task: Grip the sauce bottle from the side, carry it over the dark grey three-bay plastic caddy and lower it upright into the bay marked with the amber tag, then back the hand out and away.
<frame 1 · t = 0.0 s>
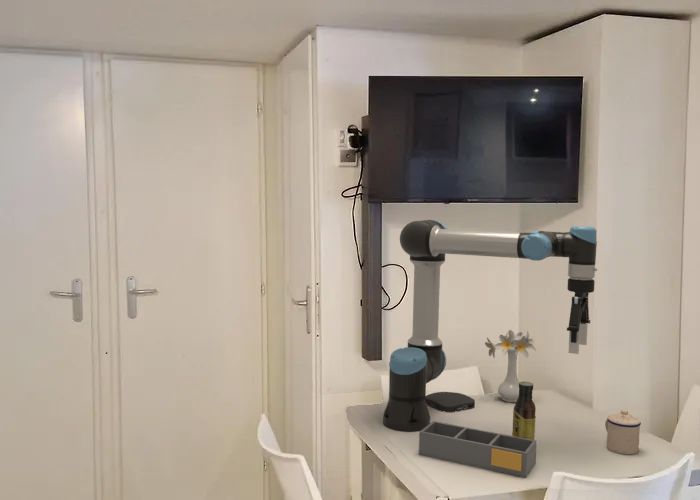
hand: (577, 348, 200), 28 cm above the table, tool pointing down, fingers open, 13 cm apart
sauce bottle: (522, 450, 194), on the table
flower vase: (509, 401, 241), on the table
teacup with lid: (618, 448, 197), on the table
caddy: (476, 458, 186), on the table
media streaming box: (449, 406, 235), on the table
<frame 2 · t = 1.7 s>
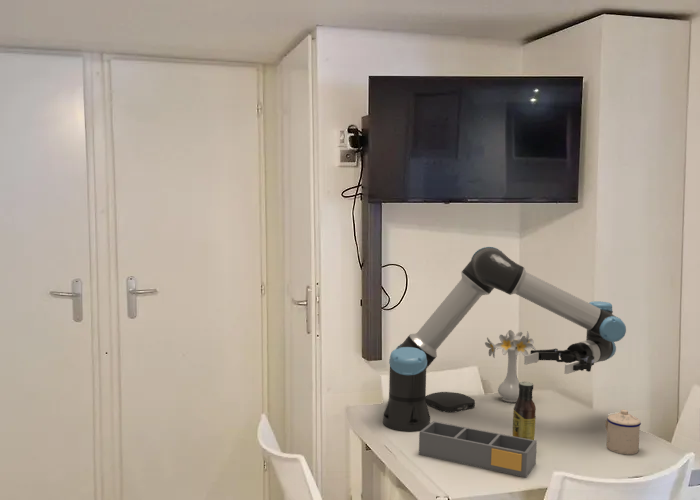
hand: (545, 364, 198), 24 cm above the table, tool horizontal, fingers open, 13 cm apart
nothing on the table moved.
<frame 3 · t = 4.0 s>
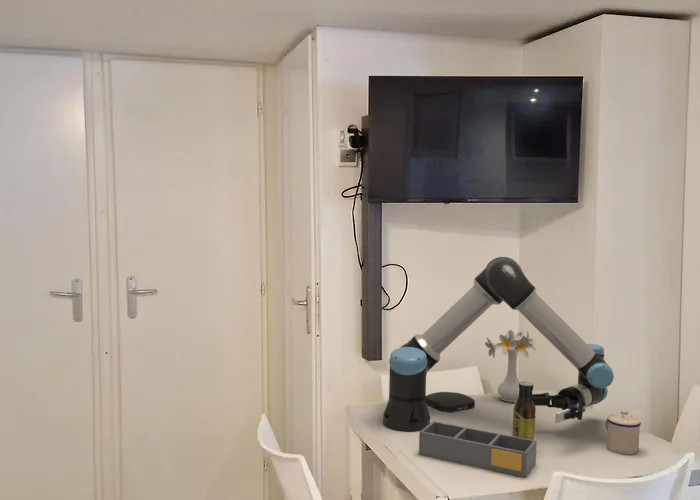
hand: (535, 412, 196), 10 cm above the table, tool horizontal, fingers open, 13 cm apart
nothing on the table moved.
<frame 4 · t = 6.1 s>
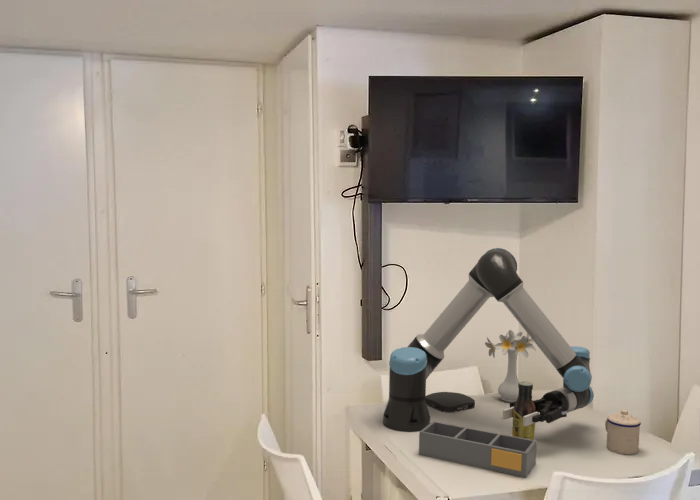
hand: (513, 418, 189), 11 cm above the table, tool horizontal, fingers closed on sauce bottle, 6 cm apart
sauce bottle: (522, 450, 194), on the table, touching gripper
everything else where it was.
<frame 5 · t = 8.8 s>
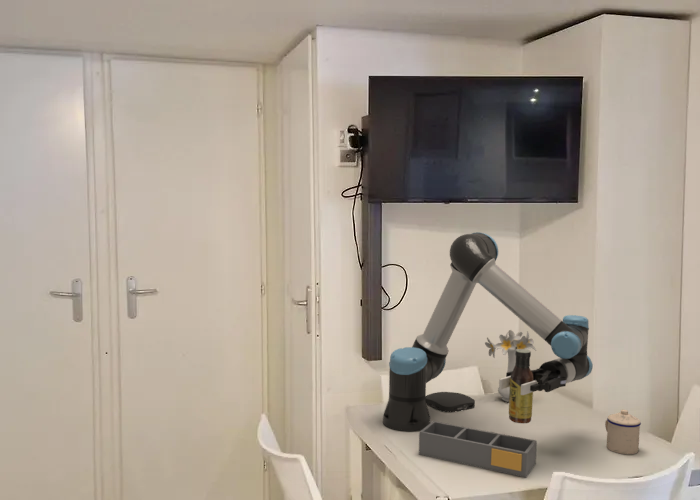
hand: (511, 387, 180), 22 cm above the table, tool horizontal, fingers closed on sauce bottle, 6 cm apart
sauce bottle: (520, 421, 185), point 11 cm above the table, touching gripper
everything else where it was.
when the fingers open (13 cm above the table, at t = 11.8 s): sauce bottle drops 1 cm, resting on caddy.
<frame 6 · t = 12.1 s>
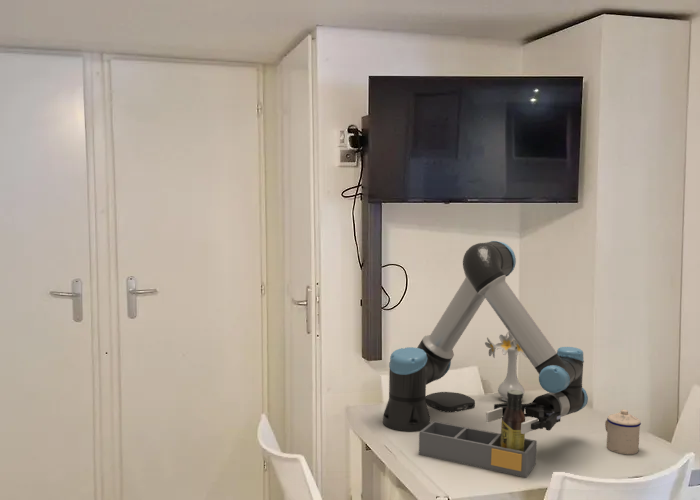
hand: (504, 422, 178), 13 cm above the table, tool horizontal, fingers open, 10 cm apart
sauce bottle: (511, 463, 182), point 1 cm above the table, touching caddy
everything else where it was.
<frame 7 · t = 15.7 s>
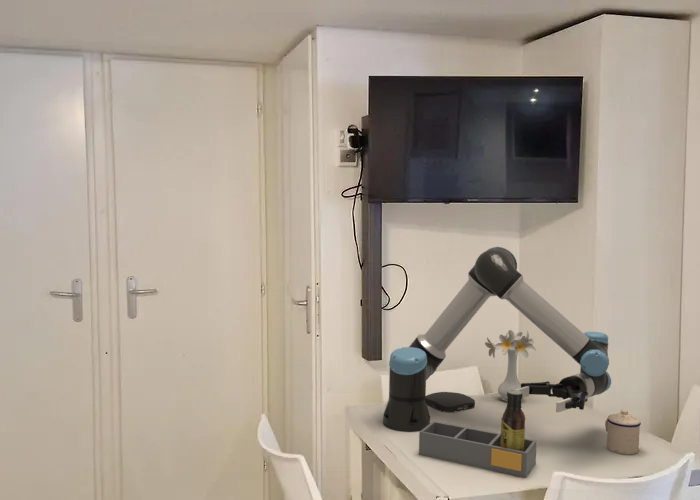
hand: (535, 400, 187), 16 cm above the table, tool horizontal, fingers open, 13 cm apart
nothing on the table moved.
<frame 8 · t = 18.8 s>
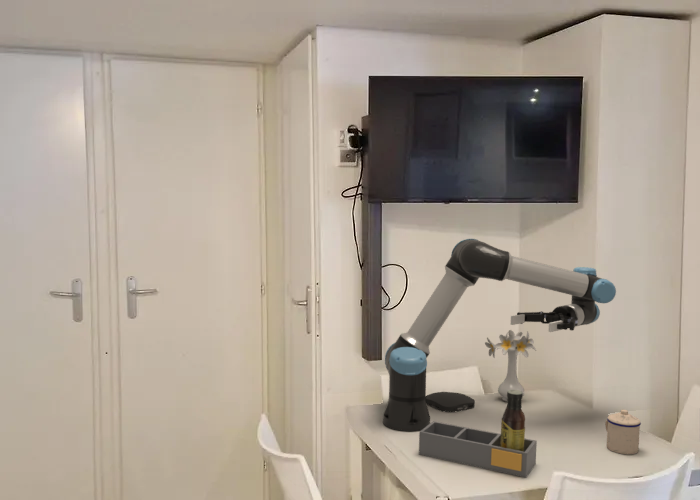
hand: (530, 323, 206), 34 cm above the table, tool horizontal, fingers open, 13 cm apart
nothing on the table moved.
at the end: sauce bottle 0.0 cm from the target spot on the caddy, point 0.8 cm above the caddy's base; sauce bottle tilted 0°; the gripper is holding nothing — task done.
